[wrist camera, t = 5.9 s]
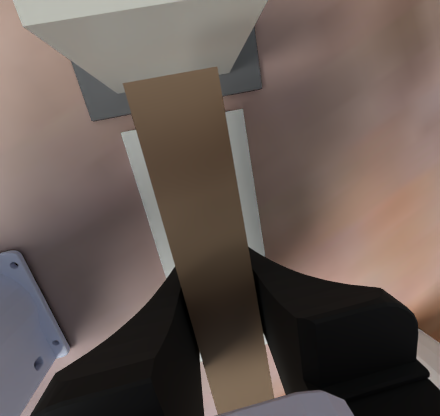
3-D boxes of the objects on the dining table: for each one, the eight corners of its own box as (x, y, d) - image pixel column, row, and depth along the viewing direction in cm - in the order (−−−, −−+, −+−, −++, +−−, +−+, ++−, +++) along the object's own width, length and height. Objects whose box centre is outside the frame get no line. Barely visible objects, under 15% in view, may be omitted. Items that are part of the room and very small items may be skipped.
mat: (260, 89, 15) (262, 88, 14) (93, 121, 14) (91, 120, 14) (231, -142, 12) (232, -149, 11) (12, -116, 11) (7, -124, 10)
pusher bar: (254, 355, 15) (283, 453, 10) (219, 365, 15) (233, 469, 10) (205, 102, 10) (217, 66, 6) (154, 112, 10) (122, 83, 5)
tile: (229, 73, 14) (275, -14, 6) (117, 93, 13) (22, 26, 6) (224, 43, 14) (268, -89, 6) (108, 64, 13) (-7, -51, 5)
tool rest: (276, 337, 21) (278, 340, 20) (192, 359, 20) (192, 364, 20) (241, 109, 15) (242, 108, 15) (122, 133, 14) (120, 132, 14)
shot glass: (370, 331, 22) (447, 412, 16) (432, 313, 23) (534, 384, 16) (370, 380, 24) (439, 470, 18) (427, 362, 25) (516, 443, 18)
